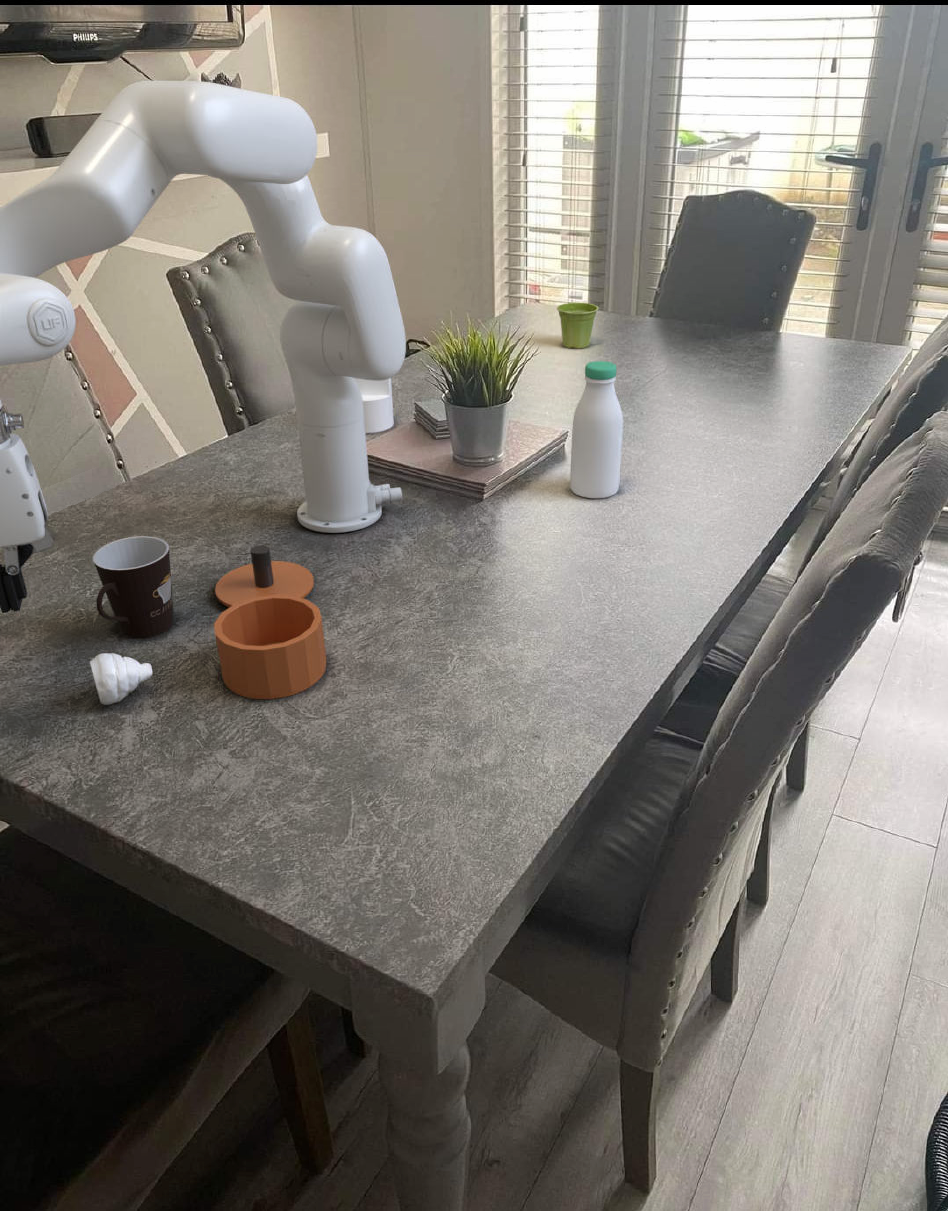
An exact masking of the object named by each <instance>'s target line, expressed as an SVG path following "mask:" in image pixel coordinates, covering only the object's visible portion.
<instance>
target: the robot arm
mask: <svg viewBox="0 0 948 1211" xmlns="http://www.w3.org/2000/svg"><path fill="white" fill-rule="evenodd" d="M317 154H318V136H317V131H316V127H315V126H314V122H313V121H312V118H311V116H310V115H309V113H307V111H306V109H304V108H303V106H301V104H299V103H298V102H296V101H294V100H293V99H290V98H288V97H284V96H279V95H273V94H269V93H263V92H258V91H255V90H248V89H244V88H238V87H236V86H235V87H234V86H230V85H226V84H221V83H215V82H211V81H201V80H142V81H135V82H134V83H131V84H129V85H127V86H125V87H124V88H122V89H121V90H120V91H119V92H118V93H117V94H116V95H115V96H114V97H113V99H111V101H110V102H109V104H108V105H107V106H106V107H105V109H104V110H102V113H100V114H99V116H98V117H97V118H96V120H95V121H94V122H93V123H92V125H91V126H90V127H89V128H88V130H87V131H86V132H85V134H84V135H83V136H82V138H81V139H79V141H78V142H77V144H76V145H75V146H74V147H73V149H72V150H71V152H69V154H68V155H67V156H66V158H65V159H64V160H63V161H62V163H61V164H60V165H59V166H58V167H57V168H56V169H55V170H54V172H53V173H52V174H50V176H48V177H47V178H46V179H44V180H42V181H40V182H38V183H36V184H34V185H33V186H30V188H28V189H26V190H25V191H23V192H22V193H21V194H19V195H17V196H16V197H14V198H13V199H11V200H10V201H8V202H6V203H5V204H3V205H2V206H0V367H2V366H9V365H18V364H26V363H27V364H28V363H35V362H40V361H41V362H42V361H45V360H47V359H50V358H53V357H54V356H57V355H58V354H60V353H61V352H63V351H64V349H66V348H67V346H68V345H69V344H70V343H71V341H72V339H73V337H74V334H75V331H76V322H77V321H76V314H75V309H74V307H73V305H72V302H70V300H69V298H68V297H67V295H66V294H64V293H63V291H62V290H61V289H59V288H58V287H57V286H55V285H54V284H52V283H51V282H47V281H45V280H43V279H40V278H38V277H40V276H41V275H42V274H45V273H46V272H47V271H50V270H51V269H53V268H56V267H57V266H59V265H62V264H64V263H68V262H70V261H73V260H77V259H80V258H84V257H88V256H91V255H95V254H99V253H103V252H105V251H107V250H109V249H112V248H113V247H116V246H119V245H121V244H123V243H124V242H126V241H128V240H129V239H130V238H131V237H132V235H133V234H134V233H135V231H136V229H137V228H138V227H139V225H140V224H141V223H142V221H143V220H144V218H145V217H146V216H147V214H148V213H149V212H150V211H151V209H152V208H153V206H154V205H155V204H156V202H157V201H158V199H159V198H160V196H161V195H162V194H163V193H164V191H165V190H166V188H168V186H169V184H170V183H171V182H172V180H174V178H175V177H177V176H179V175H196V176H197V175H198V176H208V177H211V178H215V179H219V180H221V181H222V182H223V183H225V184H226V185H228V187H230V189H232V190H233V192H235V194H237V196H238V197H239V199H240V200H241V202H242V203H243V205H244V207H245V209H246V210H245V211H246V212H247V215H248V217H249V220H250V222H251V225H252V228H253V231H254V234H255V238H256V240H257V243H258V246H259V249H260V252H261V255H262V258H263V260H264V264H265V267H266V269H267V270H266V271H267V273H268V275H269V278H270V280H271V282H272V284H273V286H274V288H275V289H276V291H277V292H278V293H279V294H280V295H282V296H283V297H284V298H285V297H286V298H287V299H291V300H294V301H299V302H296V303H294V304H293V305H291V306H290V308H288V309H287V310H286V312H285V313H284V315H283V317H282V319H281V322H280V326H279V327H280V328H279V340H280V347H281V350H282V355H283V358H284V360H285V363H286V367H287V369H288V373H289V377H290V379H291V380H290V381H291V384H292V385H291V386H292V390H293V397H294V403H295V404H294V405H295V411H296V412H295V414H296V420H297V421H296V422H297V429H298V430H297V431H298V439H299V448H300V449H299V450H300V457H301V466H302V474H303V483H304V493H305V501H304V502H303V503H302V504H300V505H299V507H298V508H297V511H296V516H297V521H298V522H299V524H300V525H301V526H302V527H304V528H306V529H308V530H309V531H310V530H311V531H314V532H318V533H327V534H341V533H349V532H355V531H359V530H362V529H364V528H367V527H369V526H371V525H373V524H374V523H376V522H377V521H379V519H380V518H381V516H382V513H383V511H382V509H383V508H382V503H383V502H396V501H402V500H403V492H402V488H401V487H400V486H399V487H391V485H390V484H389V483H384V484H379V485H375V484H372V483H371V480H370V476H369V462H368V451H367V450H368V448H367V447H368V446H367V433H365V420H364V406H363V399H362V395H361V392H360V390H359V387H358V385H357V383H356V381H355V379H354V378H358V379H364V380H374V381H380V380H386V379H389V378H391V379H392V378H393V377H394V376H396V375H397V374H398V373H399V371H400V370H401V368H402V367H403V365H404V362H405V358H406V353H407V352H406V351H407V340H406V339H407V338H406V331H405V324H404V321H403V320H404V319H403V315H402V311H401V308H400V304H399V299H398V295H397V290H396V286H395V282H394V278H393V274H392V270H391V265H390V262H389V259H388V256H387V253H386V251H385V248H384V247H383V246H382V244H381V243H380V241H379V240H378V239H377V238H376V237H375V236H374V235H373V234H372V233H371V232H369V231H367V230H365V229H363V228H359V227H356V226H355V227H354V226H348V225H347V226H346V225H333V224H330V223H329V222H327V221H326V220H325V219H324V217H323V215H322V212H321V209H320V207H319V204H318V201H317V198H316V195H315V192H314V189H313V186H312V182H311V180H310V178H309V176H308V174H309V173H310V171H311V169H312V168H313V166H314V164H315V162H316V158H317ZM24 428H25V422H24V417H23V414H22V413H13V412H9V411H8V410H7V409H6V407H5V404H3V403H2V399H1V398H0V549H3V554H4V565H3V564H2V563H0V611H1V613H2V614H5V613H9V612H10V611H13V612H20V611H21V608H22V603H23V600H24V599H27V598H28V590H27V585H26V582H25V579H24V576H23V572H22V568H23V567H24V565H25V564H26V563H27V561H28V560H29V559H30V558H31V556H32V555H34V554H38V553H40V552H43V551H46V550H49V549H52V548H53V547H54V546H55V541H56V537H55V534H54V533H53V531H52V530H51V528H50V526H49V524H48V523H49V512H48V508H47V504H46V500H45V497H44V493H43V491H42V488H41V484H40V481H39V478H38V475H37V472H36V470H35V467H34V465H33V462H32V459H31V456H30V455H29V453H28V450H27V448H26V446H25V444H24V442H23V440H22V438H21V436H20V435H18V434H16V433H12V432H13V431H17V429H24Z"/></svg>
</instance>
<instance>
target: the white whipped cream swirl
mask: <svg viewBox="0 0 948 1211" xmlns="http://www.w3.org/2000/svg"><path fill="white" fill-rule="evenodd" d="M89 665H90V668H91V672H92V676H93V680H94V684H95V687H96V688H95V689H96V691H97V695H98V698H99V702H100V704H102V705H104V706H109V705H112V704H115V703H119V702H121V701H122V700H123V699H125V698H126V697H128V695H129V694H130V693H132V692H133V691H135V689H136V688H137V687H138V686H139V684H142V683H143V682H145V681H146V680H148V679H150V678H151V677H152V676H153V669H152V665H151V663H148V662H144V663H140V662H139V661H138V660H136V659H134V658H132V657H129V656H123V657H122V656H121V655H120V654H117V653H114V652H111V653H106V652H104V653H103V652H102V653H99V654H97V655H96V656H94V657H93V658H92V659H91V660H89Z"/></svg>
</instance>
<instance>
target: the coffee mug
mask: <svg viewBox="0 0 948 1211" xmlns="http://www.w3.org/2000/svg"><path fill="white" fill-rule="evenodd" d="M170 556H171V555H170V544H168V542H167V541H166V540H164V539H162V538H159V537H155V536H144V535H141V536H140V535H139V536H129V537H125V538H120V539H117V540H113V541H111V542H108V543H106V544H105V545H102V546H100V548H98V549H97V550H96V551H95V552H94V554H93V555H92V561H93V564H94V567H95V569H96V572H97V574H98V577H99V580H100V582H101V585H102V587H101V588H100V590H99V591H98V594H97V596H96V603H95V604H96V610H97V613H98V615H99V616H100V617H102V619H105V620H108V621H110V622H111V621H112V622H116V623H117V626H118V628H119V631H120V633H121V634H122V635H123V636H124V637H127V638H130V639H136V640H137V639H140V640H141V639H148V638H149V639H150V638H154V637H157V636H159V635H162V634H164V633H165V632H167V631H168V630H170V629H171V628H172V627H173V625H174V623H175V617H174V603H173V588H172V587H173V586H172V572H171V557H170ZM105 595H106V598H107V600H108V602H109V604H110V607H111V610H112V613H113V616H112V615H109V614H107V613H106V612H105V610H104V608H103V599H104V596H105Z"/></svg>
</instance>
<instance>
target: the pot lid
mask: <svg viewBox="0 0 948 1211" xmlns="http://www.w3.org/2000/svg"><path fill="white" fill-rule="evenodd" d="M249 552H250V559H251V563H249V564H245V565H242V566H239V567H237V568H234V569H232V570H230V571H229V572H227V573H225V574H224V575H223V576H222V577H220V579H219V580H218V581H217V583H216V584H215V588H214V592H215V597H216V599H217V600H218V601H219V602H220V603H221V604H222V605H223V606H225V607H227V608H230V607H231V606H233V605H234V604H237V603H240V602H242V601H245V600H248V599H251V598H255V597H261V596H268V595H292V596H296V597H299V598H303V599H305V598H306V597H307V596H308V595H309V594H310V593H311V591H312V590H313V588H314V584H315V580H314V575H313V573H312V572H311V571H310V570H309V569H308V568H306V567H305V566H303V565H301V564H298V563H294V562H291V561H281V560H272V559H271V558H272V557H271V550H270V547H269V546H268V545H264V544H259V545H255V546H253V547H251V548H250V550H249Z"/></svg>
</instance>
